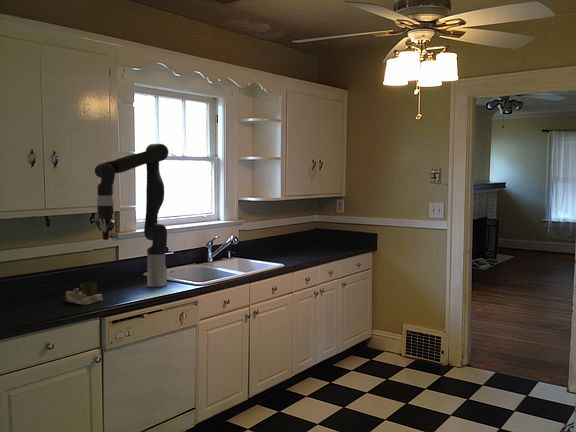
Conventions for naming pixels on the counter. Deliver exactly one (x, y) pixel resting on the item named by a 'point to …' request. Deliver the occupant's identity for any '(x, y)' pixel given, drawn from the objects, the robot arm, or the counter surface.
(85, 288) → the cup
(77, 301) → the hub cradle
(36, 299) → the counter surface
